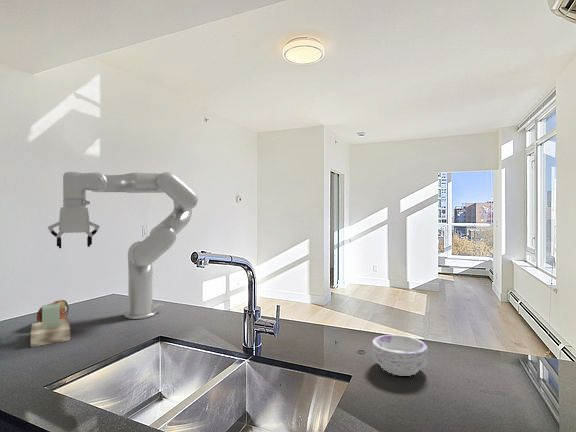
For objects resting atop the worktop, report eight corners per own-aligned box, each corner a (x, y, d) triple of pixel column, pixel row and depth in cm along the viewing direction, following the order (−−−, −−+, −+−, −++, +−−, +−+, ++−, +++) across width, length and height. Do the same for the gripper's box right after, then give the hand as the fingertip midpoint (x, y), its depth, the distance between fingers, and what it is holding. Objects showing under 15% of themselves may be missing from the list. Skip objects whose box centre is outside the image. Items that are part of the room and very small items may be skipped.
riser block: (68, 328, 131) (67, 318, 131) (70, 340, 120) (70, 328, 120) (31, 334, 125) (31, 323, 125) (30, 347, 113) (30, 335, 113)
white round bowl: (380, 354, 110) (380, 329, 110) (431, 366, 102) (431, 339, 102) (364, 373, 97) (365, 345, 97) (421, 388, 89) (422, 358, 89)
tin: (43, 330, 129) (43, 308, 129) (34, 330, 129) (34, 307, 129) (69, 317, 144) (69, 297, 144) (62, 317, 144) (61, 297, 144)
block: (59, 322, 126) (59, 303, 125) (59, 326, 121) (59, 306, 121) (42, 325, 123) (42, 305, 123) (42, 329, 119) (42, 309, 118)
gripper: (98, 204, 144) (98, 245, 144) (47, 203, 134) (47, 247, 134) (100, 204, 138) (100, 247, 138) (47, 203, 128) (47, 249, 128)
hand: (74, 247), depth 136 cm, fingers open, 9 cm apart
